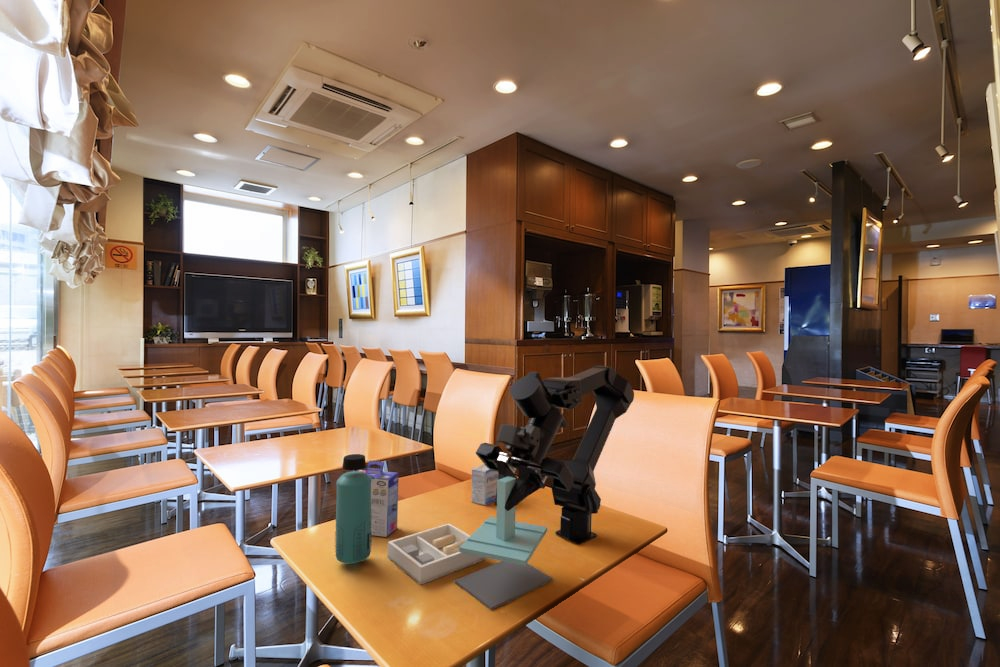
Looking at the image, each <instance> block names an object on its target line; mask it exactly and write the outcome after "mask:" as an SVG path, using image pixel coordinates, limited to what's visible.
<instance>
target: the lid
mask: <svg viewBox="0 0 1000 667" xmlns="http://www.w3.org/2000/svg"><path fill="white" fill-rule="evenodd" d="M515 483H516V478H513V477H509V476H507V477H505V478H502V479H499V480H497V507H496V517H492V516H489V517H488V518H486V520H485V521H484V522H483V523H482V524H481V525H479V527H478V528H477V529H476V530H475V531H474V532H473V533H472V534H471V535H470V537H469V538H468V539H467V540H466V541H465V542H464V543H463V544H462V545H461V546H460V547H459V552H461V553H466V554H470V555H475V556H480V557H484V559H486V558H487V559H490V560H495V561H499V562H501V561H504V562H509V563H514V564H518V565H523V566H526V564H527V563H528V564H529V561H530V560H531V557H533V554H534V553H535V552H536V550H537V548H538V547H539V545H540V543H541V542H542V540H543V539H544V537H545V535H546V534H547V532H548V526H543V525H540V524H532V523H528V522H522V521H516V508H517V507H516V506H517V505H516V506H514V507H513V508H512V509H511V510H509V511H507V510H506V509H505V504H506V502H507V499H508V497H509V495H510V493H511V491H512V489H513V487H514V485H515Z"/></svg>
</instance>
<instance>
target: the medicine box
mask: <svg viewBox="0 0 1000 667" xmlns="http://www.w3.org/2000/svg"><path fill="white" fill-rule="evenodd" d="M497 480H498V472H497V471H494V470H490V469H489V468H487V467H486V465H485V464H484V463H483V464H482V465H479V466H477V467H473V468H472V469H471V499H470V500H471V501H470V502H471V503H474V504H476V505H477V504H478V505H480V506H484V505H485V507H486V506H487V505H489V504H491V503H493V502H495V498H496V491H497Z"/></svg>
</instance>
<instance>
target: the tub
mask: <svg viewBox="0 0 1000 667" xmlns="http://www.w3.org/2000/svg"><path fill="white" fill-rule="evenodd" d="M470 536H471V535H470V534H468V533H466V532H465V531H463V530H462V529H460V528H458V527H456V526H454V525H452V524H451V523H449V522H448V523H445V524H442V525H439V526H435V527H432V528H429V529H425V530H422V531H420V532H416V533H412V534H409V535H406V536H402V537H400V538H396V539H393V540H390V541H387V559H389V561H391V562H392V563H393V562H394V563H393V564H395V565H396V566H397V567H398V568H399V569H401V570H402V571H403V572H404V573H405V574H407V575H408V576H409V577H410V578H411V579H413V580H414V581H415V582H416V583H417V582H418V584H419V586H421V584H422V585H424V584H426V582H427V583H430V582H432V581H434V580H436V579H439V578H441V577H444V576H447V575H449V574H452V573H455V572H457V571H460V570H461V569H464V567H465V568H468V567H470V566H472V565H471V564H473V565H475V564H478V563H479V562H483V561H485V557H480V556H475V555H470V554H466V553H461V552H459V547H460V546H461V545H462V544H463V543H464V542H465V541H466V540H467V539H468V538H469V537H470ZM477 562H478V563H477ZM474 563H475V564H474ZM469 565H470V566H469ZM467 566H468V567H467ZM454 571H455V572H454Z"/></svg>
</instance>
